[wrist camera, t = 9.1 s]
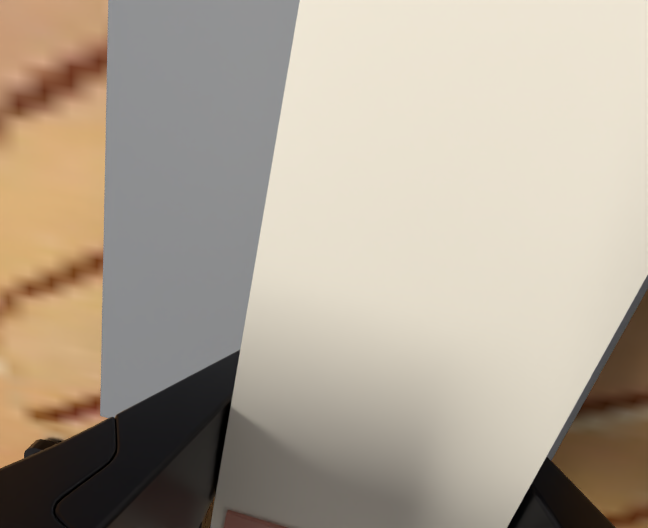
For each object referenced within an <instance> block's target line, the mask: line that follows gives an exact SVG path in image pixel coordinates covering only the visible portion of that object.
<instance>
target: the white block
mask: <svg viewBox="0 0 648 528" xmlns="http://www.w3.org/2000/svg"><path fill="white" fill-rule="evenodd" d="M647 275H648V0H300V2H299V8H298V14H297V19H296V25H295V31H294V37H293V43H292V49H291V55H290V61H289V66H288V72H287V78H286V84H285V90H284V96H283V102H282V108H281V114H280V119H279V125H278V131H277V137H276V143H275V149H274V155H273V161H272V166H271V172H270V178H269V184H268V190H267V196H266V202H265V208H264V213H263V219H262V225H261V231H260V237H259V243H258V249H257V255H256V260H255V266H254V272H253V278H252V284H251V290H250V296H249V302H248V307H247V313H246V319H245V325H244V331H243V337H242V343H241V349H240V355H239V360H238V366H237V372H236V378H235V384H234V390H233V396H232V402H231V407H230V413H229V419H228V425H227V431H226V437H225V443H224V449H223V454H222V460H221V466H220V472H219V478H218V484H217V490H216V496H215V501H214V507H213V513H212V519H211V525H210V528H507V527H508V525H509V523H510V521H511V520H512V518H513V516H514V514H515V512H516V511H517V509H518V507H519V505H520V503H521V502H522V500H523V498H524V496H525V494H526V493H527V491H528V489H529V487H530V485H531V484H532V482H533V480H534V478H535V476H536V475H537V473H538V471H539V469H540V467H541V466H542V464H543V462H544V460H545V458H546V457H547V455H548V453H549V451H550V449H551V448H552V446H553V444H554V442H555V440H556V439H557V437H558V435H559V433H560V431H561V430H562V428H563V426H564V424H565V422H566V421H567V419H568V417H569V415H570V413H571V412H572V410H573V408H574V406H575V404H576V403H577V401H578V399H579V397H580V395H581V394H582V392H583V390H584V388H585V386H586V385H587V383H588V381H589V379H590V377H591V376H592V374H593V372H594V370H595V368H596V367H597V365H598V363H599V361H600V359H601V358H602V356H603V354H604V352H605V350H606V349H607V347H608V345H609V343H610V341H611V340H612V338H613V336H614V334H615V332H616V331H617V329H618V327H619V325H620V323H621V322H622V320H623V318H624V316H625V314H626V313H627V311H628V309H629V307H630V305H631V304H632V302H633V300H634V298H635V296H636V295H637V293H638V291H639V289H640V287H641V286H642V284H643V282H644V280H645V278H646V277H647Z"/></svg>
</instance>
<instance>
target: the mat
mask: <svg viewBox="0 0 648 528" xmlns="http://www.w3.org/2000/svg"><path fill="white" fill-rule="evenodd" d="M299 2H300V0H108V50H107V101H106V152H105V203H104V253H103V304H102V355H101V406H100V416H103V417H106V418H110V417H114V418H115V415H116V414H118V413H120V412H122V411H124V410H126V409H127V408H129V407H131V406H133V405H135V404H137V403H139V402H141V401H143V400H145V399H147V398H148V397H150V396H152V395H154V394H156V393H158V392H160V391H162V390H164V389H166V388H168V387H169V386H171V385H173V384H175V383H177V382H179V381H181V380H183V379H185V378H187V377H188V376H190V375H192V374H194V373H196V372H198V371H200V370H202V369H204V368H206V367H208V366H209V365H211V364H213V363H215V362H217V361H219V360H221V359H223V358H225V357H227V356H229V355H230V354H232V353H234V352H236V351H238V350H240V349H241V343H242V337H243V331H244V325H245V319H246V313H247V307H248V302H249V296H250V290H251V284H252V278H253V272H254V266H255V260H256V255H257V249H258V243H259V237H260V231H261V225H262V219H263V213H264V208H265V202H266V196H267V190H268V184H269V178H270V172H271V166H272V161H273V155H274V149H275V143H276V137H277V131H278V125H279V119H280V114H281V108H282V102H283V96H284V90H285V84H286V78H287V72H288V66H289V61H290V55H291V49H292V43H293V37H294V31H295V25H296V19H297V14H298V8H299ZM647 289H648V275H647V277H646V278H645V280H644V282H643V284H642V286H641V287H640V289H639V291H638V293H637V295H636V296H635V298H634V300H633V302H632V304H631V305H630V307H629V309H628V311H627V313H626V314H625V316H624V318H623V320H622V322H621V323H620V325H619V327H618V329H617V331H616V332H615V334H614V336H613V338H612V340H611V341H610V343H609V345H608V347H607V349H606V350H605V352H604V354H603V356H602V358H601V359H600V361H599V363H598V365H597V367H596V368H595V370H594V372H593V374H592V376H591V377H590V379H589V381H588V383H587V385H586V386H585V388H584V390H583V392H582V394H581V395H580V397H579V399H578V401H577V403H576V404H575V406H574V408H573V410H572V412H571V413H570V415H569V417H568V419H567V421H566V422H565V424H564V426H563V428H562V430H561V431H560V433H559V435H558V437H557V439H556V440H555V442H554V444H553V446H552V448H551V449H550V451H549V453H548V455H547V457H548V458H549V459H550V460H552V458H553V457H554V455H555V453H556V451H557V449H558V448H559V446H560V444H561V442H562V440H563V439H564V437H565V435H566V433H567V432H568V430H569V428H570V426H571V424H572V423H573V421H574V419H575V417H576V416H577V414H578V412H579V410H580V408H581V407H582V405H583V403H584V401H585V400H586V398H587V396H588V394H589V392H590V391H591V389H592V387H593V385H594V383H595V382H596V380H597V378H598V376H599V375H600V373H601V371H602V369H603V367H604V366H605V364H606V362H607V360H608V359H609V357H610V355H611V353H612V351H613V350H614V348H615V346H616V344H617V343H618V341H619V339H620V337H621V335H622V334H623V332H624V330H625V328H626V326H627V325H628V323H629V321H630V319H631V318H632V316H633V314H634V312H635V310H636V309H637V307H638V305H639V303H640V302H641V300H642V298H643V296H644V294H645V293H646V291H647Z"/></svg>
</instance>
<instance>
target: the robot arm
mask: <svg viewBox="0 0 648 528" xmlns="http://www.w3.org/2000/svg"><path fill="white" fill-rule="evenodd" d="M239 355H240V350H238V351H236V352H234V353H232V354H230V355H229V356H227V357H225V358H223V359H221V360H219V361H217V362H215V363H213V364H211V365H209V366H208V367H206V368H204V369H202V370H200V371H198V372H196V373H194V374H192V375H190V376H188V377H187V378H185V379H183V380H181V381H179V382H177V383H175V384H173V385H171V386H169V387H168V388H166V389H164V390H162V391H160V392H158V393H156V394H154V395H152V396H150V397H148V398H147V399H145V400H143V401H141V402H139V403H137V404H135V405H133V406H131V407H129V408H127V409H126V410H124V411H122V412H120V413H118V414H116V415H115V418H114V417H110V418H108V419H106V420H104V421H102V422H100V423H99V424H97V425H95V426H93V427H91V428H89V429H87V430H85V431H83V432H81V433H79V434H77V435H75V436H73V437H71V438H69V439H67V440H65V441H62V442H60V443H58V444H57V443H54V442H51V441H47V440H42V439H40V440H36V441H35V442H34V443H33V444H32V445H31V446H30V447H29V448H28V449H27V450H26V451H25V453H24V459H22V460H19V461H17V462H15V463H12V464H10V465H7V466H5V467H3V468H0V528H204V526H205V520H206V514H207V510H208V508H209V507H210V505H211V503H212V501H213V499H214V497H215V495H216V490H217V484H218V478H219V472H220V466H221V460H222V454H223V449H224V443H225V437H226V431H227V425H228V419H229V413H230V407H231V402H232V396H233V390H234V384H235V378H236V372H237V366H238V360H239ZM507 528H616V527H615V526H614V525H613V524H612V523H611V522H610V521H609V520H608V519H607V518H606V517H605V516H604V515H603V514H602V513H601V512H600V511H599V510H598V509H597V508H596V507H595V506H594V505H593V504H592V503H591V502H590V500H589V499H588V498H587V497H586V496H585V495H584V494H583V493H582V492H581V491H580V490H579V489H578V488H577V487H576V486H575V485H574V484H573V483H572V482H571V481H570V480H569V479H568V478H567V477H566V476H565V475H564V474H563V473H562V472H561V470H560V469H559V468H558V467H557V466H556V465H555V464H554V463H553V462H552V461H551V460H550V459H549V458H548V457H546V458H545V460H544V462H543V464H542V466H541V467H540V469H539V471H538V473H537V475H536V476H535V478H534V480H533V482H532V484H531V485H530V487H529V489H528V491H527V493H526V494H525V496H524V498H523V500H522V502H521V503H520V505H519V507H518V509H517V511H516V512H515V514H514V516H513V518H512V520H511V521H510V523H509V525H508V527H507Z"/></svg>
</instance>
